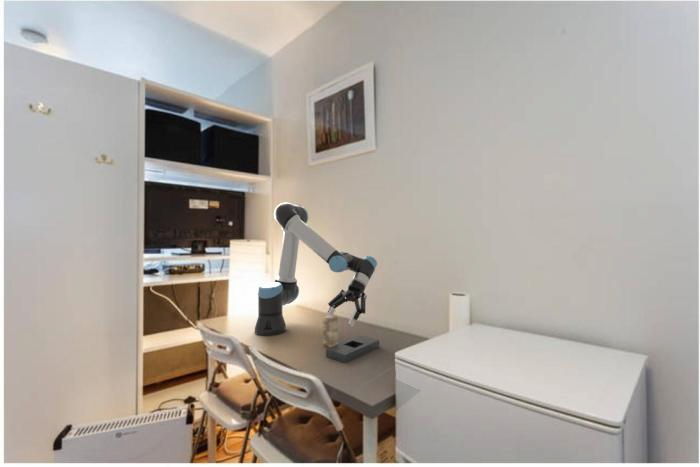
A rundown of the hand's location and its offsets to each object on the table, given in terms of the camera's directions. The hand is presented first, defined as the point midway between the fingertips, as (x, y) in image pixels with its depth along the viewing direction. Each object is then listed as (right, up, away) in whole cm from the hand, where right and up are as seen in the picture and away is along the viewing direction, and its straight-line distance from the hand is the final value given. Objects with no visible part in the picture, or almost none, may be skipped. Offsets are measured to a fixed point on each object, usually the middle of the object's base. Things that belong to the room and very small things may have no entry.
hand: (338, 322), depth 139 cm
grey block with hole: (+7, -9, -10) cm, 15 cm away
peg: (-3, -9, -2) cm, 10 cm away
